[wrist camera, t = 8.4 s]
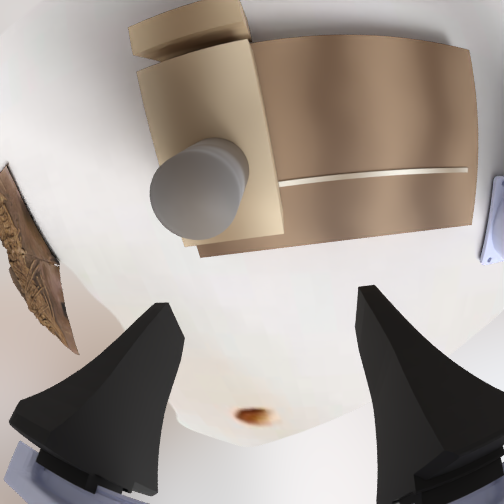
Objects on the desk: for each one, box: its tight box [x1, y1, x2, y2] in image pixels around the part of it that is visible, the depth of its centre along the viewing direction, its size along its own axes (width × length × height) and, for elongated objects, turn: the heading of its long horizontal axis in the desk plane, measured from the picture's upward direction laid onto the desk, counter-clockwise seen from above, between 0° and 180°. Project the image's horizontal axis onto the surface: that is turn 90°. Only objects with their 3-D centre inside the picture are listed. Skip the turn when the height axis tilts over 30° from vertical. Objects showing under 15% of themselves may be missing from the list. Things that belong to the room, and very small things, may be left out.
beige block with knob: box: [128, 0, 284, 247], centre depth 11 cm, size 6×12×8 cm, turn 11°
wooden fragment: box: [0, 165, 80, 355], centre depth 24 cm, size 26×11×1 cm, turn 176°
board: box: [196, 35, 478, 258], centre depth 14 cm, size 19×12×2 cm, turn 101°
